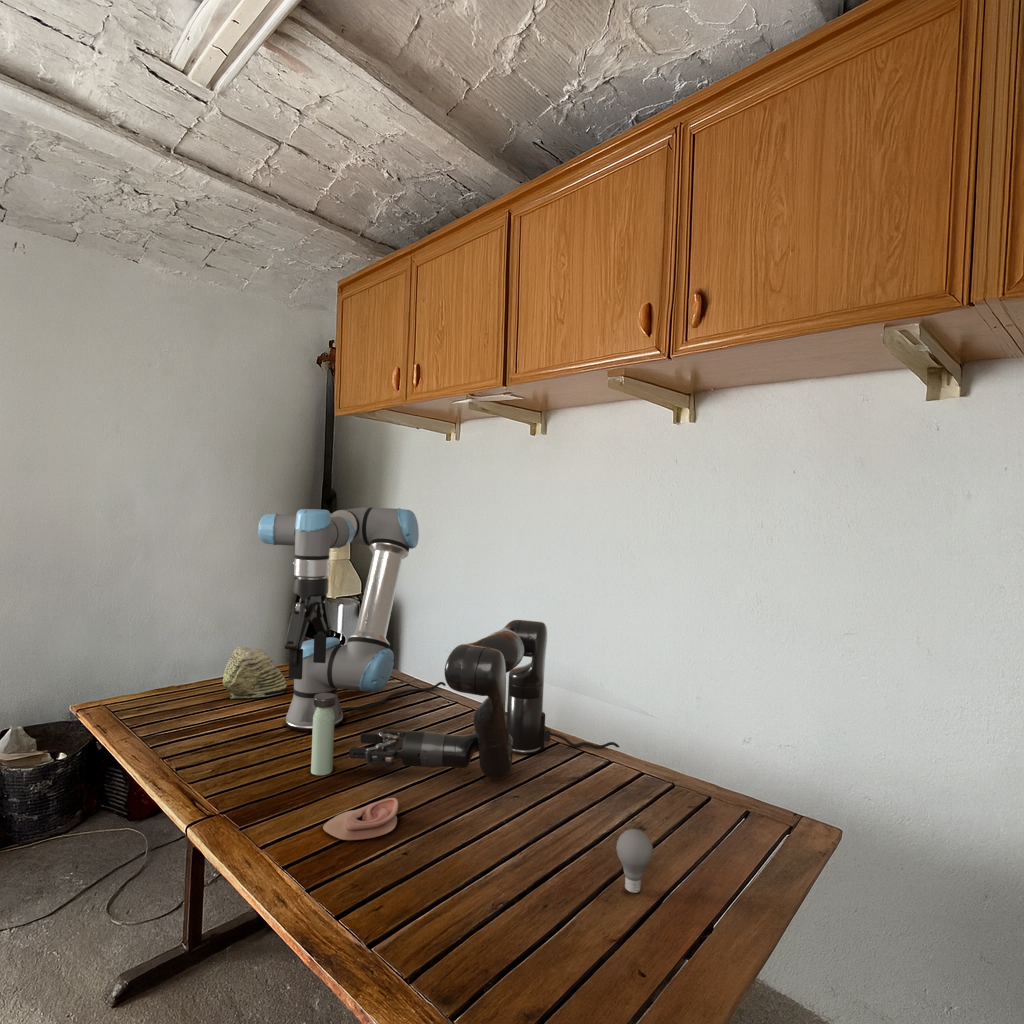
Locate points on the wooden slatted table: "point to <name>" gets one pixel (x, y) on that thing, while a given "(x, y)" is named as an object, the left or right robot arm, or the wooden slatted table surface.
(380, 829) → the anatomical model
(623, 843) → the light bulb
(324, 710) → the bottle
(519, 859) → the wooden slatted table surface
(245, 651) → the fossil
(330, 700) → the cap
